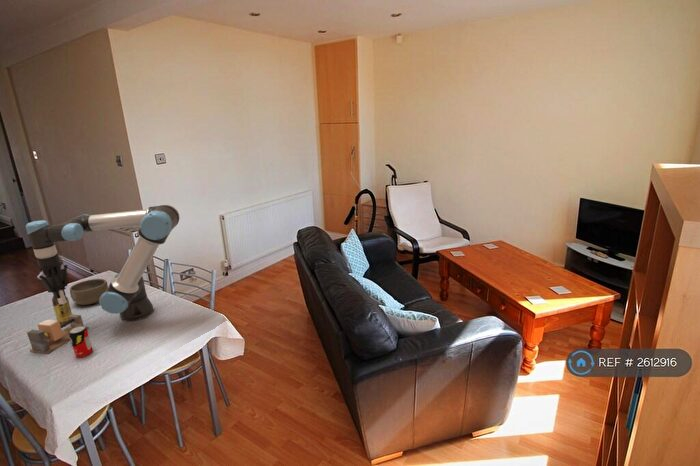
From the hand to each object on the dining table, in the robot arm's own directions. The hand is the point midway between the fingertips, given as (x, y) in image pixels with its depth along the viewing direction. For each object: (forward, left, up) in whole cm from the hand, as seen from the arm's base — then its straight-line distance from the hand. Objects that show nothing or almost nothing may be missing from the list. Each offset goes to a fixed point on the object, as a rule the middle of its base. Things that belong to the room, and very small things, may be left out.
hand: (62, 303), depth 167 cm
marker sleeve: (+1, +8, -13) cm, 15 cm away
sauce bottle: (+12, -8, -16) cm, 22 cm away
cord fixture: (+1, +5, -16) cm, 17 cm away
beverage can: (-20, +12, -16) cm, 28 cm away
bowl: (+18, -29, -16) cm, 38 cm away
